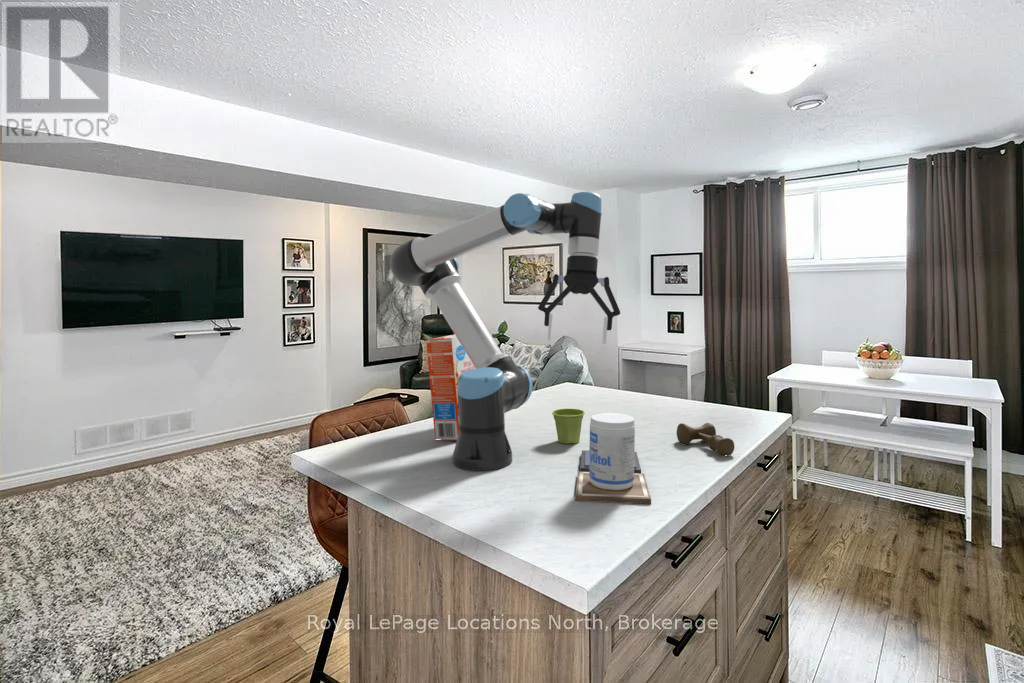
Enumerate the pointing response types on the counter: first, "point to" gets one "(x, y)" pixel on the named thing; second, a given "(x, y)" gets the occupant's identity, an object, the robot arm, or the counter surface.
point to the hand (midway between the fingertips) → (576, 341)
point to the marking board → (630, 495)
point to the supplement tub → (612, 451)
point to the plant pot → (568, 424)
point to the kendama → (705, 438)
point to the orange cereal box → (446, 383)
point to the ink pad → (586, 458)
